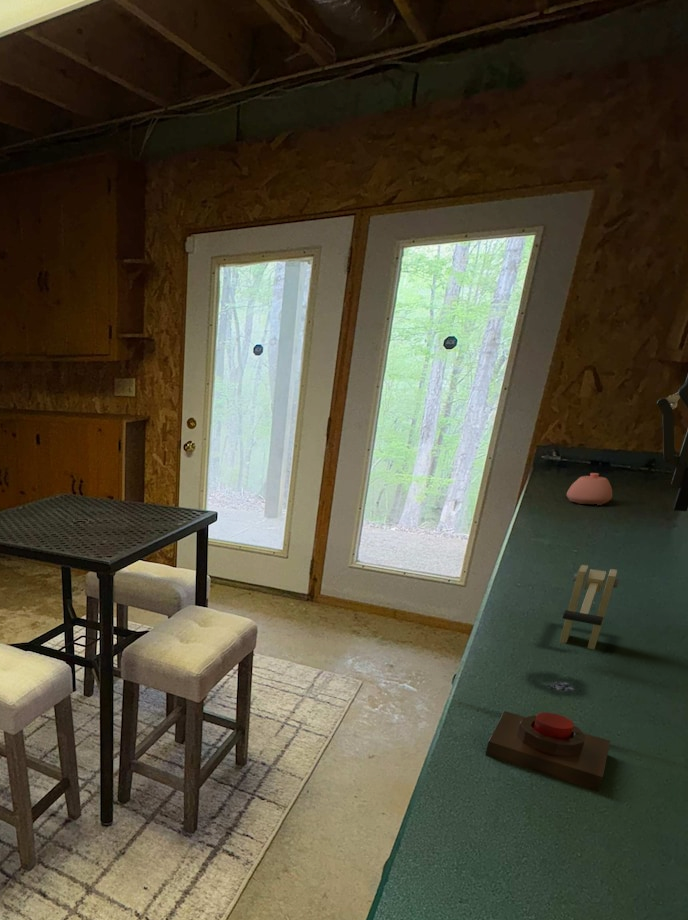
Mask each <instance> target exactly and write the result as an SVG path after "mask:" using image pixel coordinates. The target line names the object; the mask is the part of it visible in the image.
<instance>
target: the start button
mask: <svg viewBox="0 0 688 920" xmlns="http://www.w3.org/2000/svg"><path fill="white" fill-rule="evenodd" d="M536 715H537V716H536V719H535V723H534V730H535V731H537V732H539V733H541V734H542V735H544V736H548V737H551V738H555V739H565V740H566V739H569V738H570V737H571V734H572V731H573V727H574V726H575V723H574V722H573V721H572V720H571V719H570V718H568V717H566V716H563V715H561V714H558V713H553V712H539V713H537V714H536Z"/></svg>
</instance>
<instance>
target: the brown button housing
mask: <svg viewBox="0 0 688 920" xmlns="http://www.w3.org/2000/svg"><path fill="white" fill-rule="evenodd" d="M536 716H537V714H535V715H534V714H532V715H528V716H525V715H524V716H523V715H520V714H516V713H514V712H510V711H505V710H504V711H503V712H502V714H501V717H500V719H499V721H498V723H497V724H496V726H495V728H494V729H493V732H492V734H491V735H490V738H489V740H488V741H487V746H486V750H485V754H484V755H485V756H487V757H490V758H493V759H496V760H499V761H502V762H505V763H509V764H511V765H515V766H517V767H520V768H524V769H526V770H531V771H532V772H536V773H538V774H539V773H540V774H543V775H545V776H549V777H551V778H555V779H557V780H561V781H564V782H567V783H570V784H573V785H577V786H579V787H582V788H586V789H588V790H592V791H595V792H599V790H600V787H601V784H602V781H603V778H604V773H605V769H606V764H607V760H608V754H609V750H610V744H611V740H609V739H606V738H603V737H599V736H595V735H592V734H588V733H586V732H585V733H584V732H583V731H582V729H580V727H578V726H576V725H574V727H573V731H572V734H571V737H570V738H569V739H566V740H565V739H555V738H551V737H548V736H544V735H542V734H541V733H539V732H537V731H535V730H534V723H535V719H536Z"/></svg>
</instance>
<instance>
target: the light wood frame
mask: <svg viewBox="0 0 688 920" xmlns="http://www.w3.org/2000/svg"><path fill="white" fill-rule="evenodd" d="M588 569H589V565H587V564H581V565H580V567H579V569H578V571H577V573H576V572H575V573H574V575H573V576H572V577H573V578H572V582H574V586H573V589H572V593H571V597H570V601H569V604H568V608H567V610H568V611H573V612H577V610H578V607H579V603H580V599H581V596H582V593H583V588H584V586H585V585H584V584H585V581H586V578H587V574H588ZM618 572H619V570H618V569H615V568H614V569H613V568H610V569H609V573H608V575H607V577H606V581H605V585H604V588H603V592H602V595H601V599H600V602H599V606H598V609H597V613H596V616H601V617H603V620H602V624H601V626H600V625H594V624H593V626H592V630H591V634H590V637H589V640H588V644H587V647H586V648H587V649H590V650H596V647H597V643H598V639H599V636H600V634H601V633H600V632H601V629H602V626H603V623H604V619H605V616H606V612H607V609H608V606H609V602H610V600H611V599H610V598H611V595H612V592H613V589H617V588H618V585H619V581H620V579H617V575H618ZM573 625H574V621H573V620H568V619H564V624H563V626H562V630H561V633H560V638H559V643H562V644H567V643H568V640H569V638H570V635H571V631H572V628H573Z"/></svg>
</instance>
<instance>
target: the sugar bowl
mask: <svg viewBox="0 0 688 920" xmlns="http://www.w3.org/2000/svg"><path fill="white" fill-rule="evenodd" d="M599 475H600V473H599V472H590V473H589V475H583V476H582V475H581V476H580V477H578V478H577V479H576V480H575V481H574V482H573V483H572V484H571V485H570V487H569V488H568V489H567V492H566V497H567V499H568V500H569V501H570V502H573V503H576V504H578V503H580V504H585V505H594V504H597V505H596V506H598V505H601V506H602V505H603V504H606V503H608V502H609V501H611V500H612V498H613V488H612V485H611V483H610V480H609V479H608V478H607V477H604V476H599Z"/></svg>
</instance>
